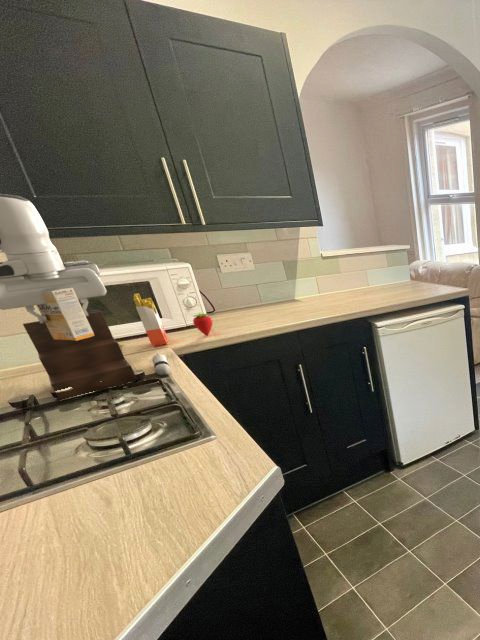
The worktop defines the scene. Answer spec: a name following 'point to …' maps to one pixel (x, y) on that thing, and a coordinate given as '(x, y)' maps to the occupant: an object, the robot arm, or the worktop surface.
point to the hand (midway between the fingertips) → (64, 319)
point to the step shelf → (81, 358)
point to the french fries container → (150, 320)
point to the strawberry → (203, 323)
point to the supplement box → (65, 315)
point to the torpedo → (161, 364)
